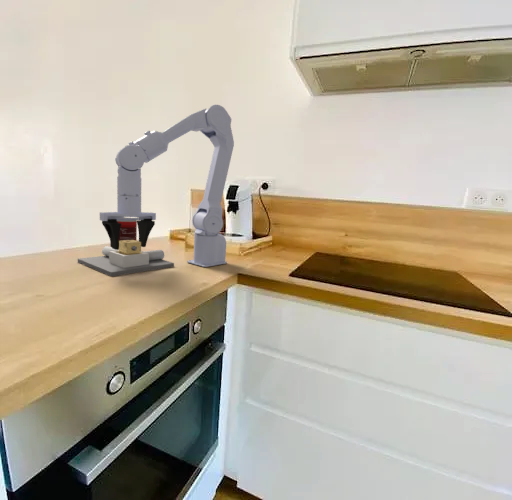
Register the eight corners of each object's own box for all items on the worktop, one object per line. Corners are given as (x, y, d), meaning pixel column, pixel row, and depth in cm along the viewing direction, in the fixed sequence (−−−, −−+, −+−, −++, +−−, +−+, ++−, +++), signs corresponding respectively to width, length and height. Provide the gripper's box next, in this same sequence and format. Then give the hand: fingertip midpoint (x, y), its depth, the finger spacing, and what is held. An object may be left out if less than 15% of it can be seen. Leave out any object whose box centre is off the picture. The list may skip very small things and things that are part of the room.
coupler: (132, 261, 87) (132, 239, 86) (141, 264, 84) (141, 242, 83) (118, 262, 84) (118, 240, 83) (127, 266, 81) (127, 243, 80)
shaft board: (138, 255, 100) (138, 242, 99) (174, 266, 89) (174, 252, 88) (77, 262, 86) (77, 247, 85) (111, 276, 75) (111, 259, 74)
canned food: (118, 249, 107) (118, 216, 105) (140, 251, 106) (141, 218, 104) (105, 253, 100) (104, 218, 98) (128, 255, 99) (129, 220, 97)
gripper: (145, 195, 89) (145, 243, 92) (93, 193, 78) (94, 247, 81) (160, 197, 85) (159, 247, 88) (107, 195, 74) (108, 252, 76)
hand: (129, 247), depth 84 cm, fingers open, 7 cm apart
